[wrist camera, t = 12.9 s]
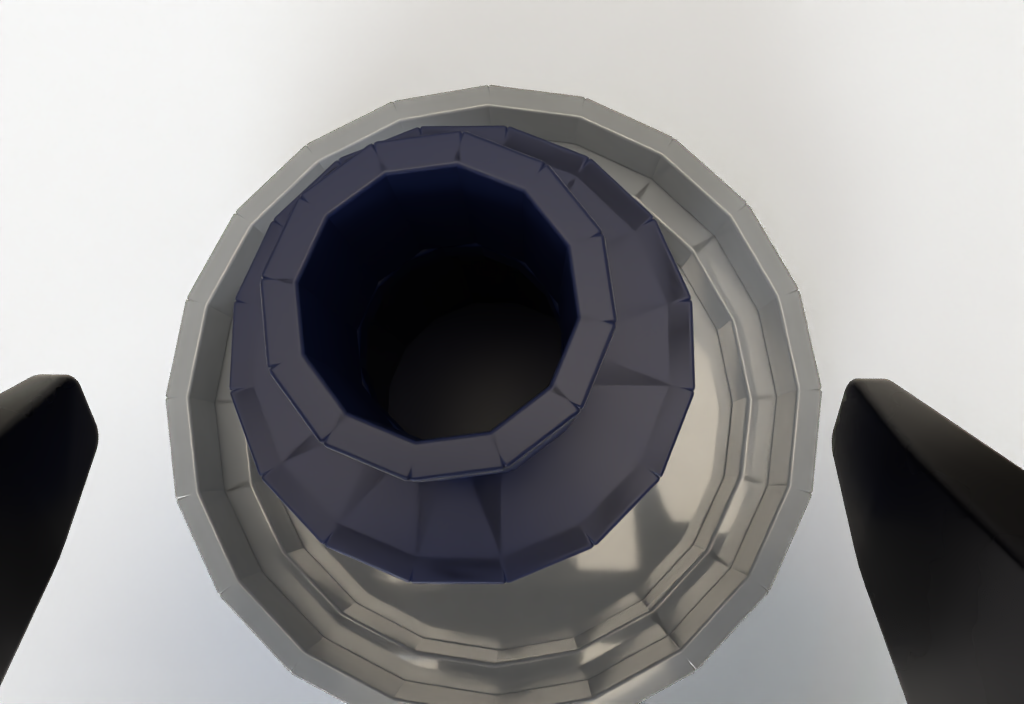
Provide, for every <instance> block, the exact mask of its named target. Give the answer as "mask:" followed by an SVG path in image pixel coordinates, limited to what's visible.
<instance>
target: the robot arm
mask: <svg viewBox="0 0 1024 704" xmlns="http://www.w3.org/2000/svg"><path fill="white" fill-rule="evenodd" d="M97 446H98V429H97V425H96V423H95V420H94V418H93V415H92V413H91V411H90V408H89V406H88V403H87V401H86V398H85V396H84V394H83V391H82V389H81V386H80V384H79V383H78V381H77V380H76V379H75V378H74V377H72V376H70V375H51V374H42V375H35V376H32V377H30V378H28V379H26V380H25V381H23V382H21V383H19V384H17V385H15V386H14V387H12V388H10V389H8V390H6V391H4V392H3V393H1V394H0V685H1V683H2V681H3V679H4V677H5V675H6V672H7V670H8V668H9V666H10V664H11V662H12V660H13V657H14V655H15V653H16V651H17V649H18V647H19V645H20V643H21V640H22V638H23V636H24V634H25V632H26V630H27V628H28V625H29V623H30V621H31V619H32V617H33V615H34V613H35V610H36V608H37V606H38V604H39V602H40V600H41V598H42V595H43V593H44V591H45V589H46V587H47V585H48V583H49V580H50V578H51V576H52V574H53V571H54V569H55V567H56V565H57V562H58V560H59V558H60V555H61V552H62V550H63V547H64V544H65V542H66V539H67V536H68V533H69V530H70V527H71V524H72V521H73V518H74V515H75V512H76V509H77V506H78V503H79V500H80V497H81V494H82V491H83V488H84V485H85V482H86V479H87V476H88V473H89V470H90V467H91V465H92V462H93V459H94V456H95V453H96V450H97ZM832 452H833V457H834V461H835V465H836V470H837V474H838V479H839V483H840V487H841V492H842V496H843V501H844V505H845V510H846V514H847V518H848V523H849V527H850V532H851V536H852V540H853V545H854V549H855V553H856V557H857V561H858V565H859V568H860V571H861V574H862V577H863V580H864V584H865V587H866V589H867V592H868V595H869V598H870V600H871V603H872V606H873V609H874V612H875V614H876V617H877V620H878V623H879V626H880V628H881V631H882V634H883V637H884V640H885V642H886V645H887V648H888V651H889V654H890V656H891V659H892V662H893V665H894V667H895V670H896V673H897V676H898V679H899V681H900V684H901V687H902V690H903V693H904V695H905V698H906V701H907V704H1024V470H1023V469H1021V468H1020V467H1018V466H1017V465H1015V464H1014V463H1012V462H1011V461H1009V460H1008V459H1007V458H1005V457H1004V456H1002V455H1001V454H999V453H998V452H996V451H995V450H993V449H992V448H990V447H989V446H987V445H986V444H984V443H983V442H981V441H980V440H978V439H977V438H975V437H974V436H972V435H971V434H969V433H968V432H966V431H965V430H963V429H962V428H961V427H959V426H958V425H956V424H955V423H953V422H952V421H950V420H949V419H947V418H946V417H944V416H943V415H941V414H940V413H938V412H937V411H935V410H934V409H932V408H931V407H929V406H928V405H926V404H925V403H923V402H922V401H920V400H919V399H917V398H916V397H915V396H913V395H912V394H910V393H909V392H907V391H906V390H904V389H903V388H901V387H900V386H898V385H897V384H895V383H894V382H892V381H890V380H888V379H854V380H852V381H850V382H849V384H848V385H847V387H846V389H845V392H844V396H843V399H842V402H841V406H840V409H839V413H838V416H837V419H836V423H835V426H834V429H833V434H832Z"/></svg>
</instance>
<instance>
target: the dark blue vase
mask: <svg viewBox="0 0 1024 704" xmlns="http://www.w3.org/2000/svg"><path fill="white" fill-rule="evenodd" d="M653 218H654V217H653V215H652V214H651V213H650V212H648V211H647V210H646V209H645V208H644V207H643V206H642V205H641V204H640V203H639V202H638V201H637V200H636V199H635V198H633V197H632V196H631V195H630V194H629V193H628V192H627V191H626V190H625V189H624V188H623V187H622V186H621V185H620V184H618V183H617V182H616V181H615V180H614V179H613V178H612V177H611V176H610V175H609V174H608V173H607V172H606V171H604V170H603V169H602V168H601V167H600V166H599V165H598V164H597V163H596V162H595V161H594V160H593V159H591V158H590V159H589V157H588V156H586V155H583V154H581V153H578V152H575V151H573V150H570V149H568V148H565V147H562V146H560V145H557V144H555V143H552V142H549V141H547V140H544V139H542V138H539V137H536V136H534V135H531V134H529V133H526V132H523V131H521V130H518V129H516V128H513V127H508V128H507V126H504V125H501V126H422V127H421V128H419V127H416V128H414V129H411V130H409V131H406V132H403V133H401V134H398V135H396V136H393V137H391V138H388V139H386V140H382V141H376V142H374V144H372V143H371V144H369V145H367V146H366V147H364V148H363V149H361V150H358V151H356V152H353V153H351V154H348V155H346V156H343V157H341V158H339V161H337V160H336V161H335V162H333V163H332V164H331V165H330V166H329V167H328V168H327V169H326V170H325V171H324V172H323V173H322V174H321V175H320V176H318V177H317V178H316V179H315V180H314V181H313V182H312V183H311V184H310V185H309V186H308V187H307V188H306V189H305V190H303V191H302V192H301V193H300V194H299V195H298V196H297V197H296V198H295V199H294V200H293V201H292V202H291V203H290V204H288V205H287V206H286V207H285V208H284V209H283V210H282V211H281V212H280V213H279V214H278V215H277V216H276V217H275V218H274V221H272V222H271V223H270V225H269V228H268V230H267V232H266V234H265V236H264V238H263V240H262V242H261V245H260V247H259V249H258V251H257V253H256V255H255V257H254V259H253V261H252V264H251V266H250V268H249V270H248V272H247V274H246V276H245V278H244V280H243V283H242V285H241V287H240V289H239V291H238V293H237V295H236V297H235V301H236V302H234V308H233V327H232V345H231V363H230V382H229V389H230V390H231V392H230V396H231V398H232V401H233V404H234V407H235V410H236V412H237V415H238V418H239V421H240V424H241V426H242V429H243V432H244V435H245V438H246V440H247V443H248V446H249V449H250V451H251V454H252V457H253V460H254V463H255V465H256V468H257V471H258V474H259V475H260V476H262V480H263V482H264V483H265V484H266V485H267V486H268V487H269V488H270V489H271V490H272V491H273V492H274V493H275V494H276V495H277V497H278V498H279V499H280V500H281V501H282V502H283V503H284V504H285V505H286V506H287V507H288V508H289V509H290V511H291V512H292V513H293V514H294V515H295V516H296V517H297V518H298V519H299V520H300V521H301V522H302V523H303V525H304V526H305V527H306V528H307V529H308V530H309V531H310V532H311V533H312V534H313V535H314V536H315V537H316V538H317V540H318V541H319V542H320V543H322V544H325V546H326V547H327V548H329V549H332V550H334V551H336V552H338V553H341V554H343V555H345V556H348V557H350V558H352V559H354V560H357V561H359V562H361V563H363V564H366V565H368V566H370V567H373V568H375V569H377V570H379V571H382V572H384V573H386V574H389V575H391V576H393V577H395V578H398V579H400V580H402V581H405V582H407V583H410V582H411V583H413V584H499V585H503V584H505V583H506V582H507V583H511V582H514V581H516V580H519V579H521V578H523V577H526V576H528V575H530V574H533V573H535V572H538V571H540V570H542V569H545V568H547V567H549V566H552V565H554V564H557V563H559V562H561V561H564V560H566V559H568V558H571V557H573V556H576V555H578V554H580V553H583V552H585V551H587V550H590V549H592V548H593V547H594V545H598V544H599V543H600V542H601V541H602V540H603V539H604V538H605V537H606V536H607V535H608V533H609V532H610V531H611V530H612V529H613V528H614V527H615V526H616V525H617V524H618V523H619V522H620V521H621V520H622V519H623V518H624V517H625V516H626V515H627V514H628V513H629V512H630V511H631V510H632V509H633V508H634V507H635V506H636V505H637V504H638V503H639V501H640V500H641V499H642V498H643V497H644V496H645V495H646V494H647V493H648V492H649V491H650V490H651V489H652V488H653V487H654V486H655V485H656V484H657V483H658V482H659V480H660V477H662V476H663V474H664V471H665V469H666V466H667V464H668V461H669V458H670V456H671V453H672V451H673V448H674V445H675V443H676V440H677V438H678V435H679V433H680V430H681V427H682V425H683V422H684V420H685V417H686V414H687V412H688V409H689V407H690V404H691V401H692V399H693V396H694V390H695V360H694V329H693V303H692V301H691V295H690V293H689V291H688V288H687V286H686V284H685V282H684V280H683V277H682V275H681V273H680V271H679V269H678V266H677V264H676V262H675V260H674V258H673V256H672V253H671V251H670V249H669V247H668V245H667V242H666V240H665V238H664V236H663V234H662V232H661V229H660V227H659V225H658V223H657V221H656V220H655V219H653Z"/></svg>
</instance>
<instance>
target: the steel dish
mask: <svg viewBox="0 0 1024 704" xmlns="http://www.w3.org/2000/svg"><path fill="white" fill-rule="evenodd" d="M501 125H504V126H507V128H508V127H513V128H516V129H518V130H521V131H523V132H526V133H529V134H531V135H534V136H536V137H539V138H542V139H544V140H547V141H549V142H552V143H555V144H557V145H560V146H562V147H565V148H568V149H570V150H573V151H575V152H578V153H581V154H583V155H586V156H588V157H589V159H590V158H591V159H593V160H594V161H595V162H596V163H597V164H598V165H599V166H600V167H601V168H602V169H603V170H604V171H606V172H607V173H608V174H609V175H610V176H611V177H612V178H613V179H614V180H615V181H616V182H617V183H618V184H620V185H621V186H622V187H623V188H624V189H625V190H626V191H627V192H628V193H629V194H630V195H631V196H632V197H633V198H635V199H636V200H637V201H638V202H639V203H640V204H641V205H642V206H643V207H644V208H645V209H646V210H647V211H648V212H650V213H651V214H652V215H653V217H654V218H653V219H655V220H656V221H657V223H658V225H659V227H660V229H661V232H662V234H663V236H664V238H665V240H666V242H667V245H668V247H669V249H670V251H671V253H672V256H673V258H674V260H675V262H676V264H677V266H678V269H679V271H680V273H681V275H682V277H683V280H684V282H685V284H686V286H687V288H688V291H689V293H690V295H691V301H692V303H693V329H694V360H695V390H694V396H693V399H692V401H691V404H690V407H689V409H688V412H687V414H686V417H685V420H684V422H683V425H682V427H681V430H680V433H679V435H678V438H677V440H676V443H675V445H674V448H673V451H672V453H671V456H670V458H669V461H668V464H667V466H666V469H665V471H664V474H663V476H662V477H660V480H659V482H658V483H657V484H656V485H655V486H654V487H653V488H652V489H651V490H650V491H649V492H648V493H647V494H646V495H645V496H644V497H643V498H642V499H641V500H640V501H639V503H638V504H637V505H636V506H635V507H634V508H633V509H632V510H631V511H630V512H629V513H628V514H627V515H626V516H625V517H624V518H623V519H622V520H621V521H620V522H619V523H618V524H617V525H616V526H615V527H614V528H613V529H612V530H611V531H610V532H609V533H608V535H607V536H606V537H605V538H604V539H603V540H602V541H601V542H600V543H599V544H598V545H594V547H593V548H592V549H590V550H587V551H585V552H583V553H580V554H578V555H576V556H573V557H571V558H568V559H566V560H564V561H561V562H559V563H557V564H554V565H552V566H549V567H547V568H545V569H542V570H540V571H538V572H535V573H533V574H530V575H528V576H526V577H523V578H521V579H519V580H516V581H514V582H511V583H507V582H506V583H505V584H503V585H499V584H413V583H411V582H410V583H407V582H405V581H402V580H400V579H398V578H395V577H393V576H391V575H389V574H386V573H384V572H382V571H379V570H377V569H375V568H373V567H370V566H368V565H366V564H363V563H361V562H359V561H357V560H354V559H352V558H350V557H348V556H345V555H343V554H341V553H338V552H336V551H334V550H332V549H329V548H327V547H326V546H325V544H322V543H320V542H319V541H318V540H317V538H316V537H315V536H314V535H313V534H312V533H311V532H310V531H309V530H308V529H307V528H306V527H305V526H304V525H303V523H302V522H301V521H300V520H299V519H298V518H297V517H296V516H295V515H294V514H293V513H292V512H291V511H290V509H289V508H288V507H287V506H286V505H285V504H284V503H283V502H282V501H281V500H280V499H279V498H278V497H277V495H276V494H275V493H274V492H273V491H272V490H271V489H270V488H269V487H268V486H267V485H266V484H265V483H264V482H263V480H262V476H260V475H259V474H258V471H257V468H256V465H255V463H254V460H253V457H252V454H251V451H250V449H249V446H248V443H247V440H246V438H245V435H244V432H243V429H242V426H241V424H240V421H239V418H238V415H237V412H236V410H235V407H234V404H233V401H232V398H231V396H230V392H231V390H230V389H229V382H230V363H231V345H232V327H233V308H234V302H236V301H235V297H236V295H237V293H238V291H239V289H240V287H241V285H242V283H243V280H244V278H245V276H246V274H247V272H248V270H249V268H250V266H251V264H252V261H253V259H254V257H255V255H256V253H257V251H258V249H259V247H260V245H261V242H262V240H263V238H264V236H265V234H266V232H267V230H268V228H269V225H270V223H271V222H272V221H274V218H275V217H276V216H277V215H278V214H279V213H280V212H281V211H282V210H283V209H284V208H285V207H286V206H287V205H288V204H290V203H291V202H292V201H293V200H294V199H295V198H296V197H297V196H298V195H299V194H300V193H301V192H302V191H303V190H305V189H306V188H307V187H308V186H309V185H310V184H311V183H312V182H313V181H314V180H315V179H316V178H317V177H318V176H320V175H321V174H322V173H323V172H324V171H325V170H326V169H327V168H328V167H329V166H330V165H331V164H332V163H333V162H335V161H336V160H337V161H339V158H341V157H343V156H346V155H348V154H351V153H353V152H356V151H358V150H361V149H363V148H364V147H366V146H367V145H369V144H371V143H372V144H374V142H376V141H382V140H386V139H388V138H391V137H393V136H396V135H398V134H401V133H403V132H406V131H409V130H411V129H414V128H416V127H419V128H421V127H422V126H501ZM746 204H747V203H746V201H745V200H743V199H742V198H741V197H740V196H739V195H738V194H737V193H736V192H734V191H733V190H732V189H731V188H730V187H729V186H728V185H727V184H726V183H724V182H723V181H722V180H721V179H720V178H719V177H718V176H717V175H715V174H714V173H713V172H712V171H711V170H710V169H709V168H708V167H706V166H705V165H704V164H703V163H702V162H701V161H700V160H699V159H697V158H696V157H695V156H694V155H693V154H692V153H691V152H690V151H688V150H687V149H686V148H685V147H684V146H683V145H682V144H681V143H680V142H678V141H677V140H676V139H673V137H671V136H669V135H667V134H665V133H663V132H661V131H658V130H656V129H654V128H652V127H650V126H647V125H645V124H643V123H641V122H638V121H636V120H634V119H632V118H630V117H627V116H625V115H623V114H621V113H619V112H616V111H614V110H612V109H610V108H608V107H605V106H603V105H601V104H599V103H597V102H594V101H592V100H590V99H588V98H586V99H585V98H584V97H581V96H573V95H565V94H557V93H549V92H542V91H534V90H526V89H518V88H510V87H503V86H495V85H490V86H487V85H486V86H480V87H474V88H468V89H462V90H456V91H450V92H444V93H438V94H432V95H427V96H421V97H415V98H409V99H403V100H397V101H395V102H390V103H388V104H386V105H384V106H382V107H380V108H378V109H376V110H374V111H372V112H370V113H368V114H366V115H364V116H362V117H360V118H358V119H356V120H354V121H352V122H350V123H348V124H346V125H344V126H342V127H340V128H338V129H336V130H334V131H332V132H330V133H328V134H326V135H324V136H322V137H320V138H318V139H316V140H314V141H312V142H310V143H308V144H307V146H304V147H303V148H302V149H301V150H300V151H299V152H298V153H297V154H296V155H295V156H293V157H292V158H291V159H290V160H289V161H288V162H287V163H286V164H285V165H284V166H283V167H282V168H281V169H280V170H279V171H278V172H277V173H276V174H274V175H273V176H272V177H271V178H270V179H269V180H268V181H267V182H266V183H265V184H264V185H263V186H262V187H261V188H260V189H259V190H258V191H257V192H256V193H254V194H253V195H252V196H251V197H250V198H249V199H248V200H247V201H246V202H245V203H244V204H243V205H242V206H241V207H240V208H239V209H238V210H237V211H236V214H234V215H233V217H232V218H231V220H230V222H229V224H228V225H227V227H226V229H225V231H224V233H223V234H222V236H221V238H220V240H219V241H218V243H217V245H216V247H215V249H214V250H213V252H212V254H211V256H210V257H209V259H208V261H207V263H206V265H205V266H204V268H203V270H202V272H201V273H200V275H199V277H198V279H197V281H196V282H195V284H194V286H193V288H192V289H191V291H190V293H189V295H188V297H187V299H188V300H186V302H185V307H184V312H183V316H182V321H181V326H180V331H179V335H178V340H177V345H176V350H175V354H174V359H173V364H172V369H171V373H170V378H169V383H168V388H167V392H166V397H167V398H166V408H167V418H168V428H169V437H170V447H171V457H172V466H173V476H174V486H175V495H176V498H177V499H178V500H177V503H178V505H179V508H180V510H181V512H182V514H183V517H184V519H185V521H186V523H187V526H188V528H189V530H190V532H191V534H192V537H193V539H194V541H195V543H196V546H197V548H198V550H199V552H200V555H201V557H202V559H203V561H204V563H205V566H206V568H207V570H208V572H209V575H210V577H211V579H212V581H213V584H214V586H215V588H216V590H217V592H218V593H219V594H220V597H221V598H222V599H223V600H224V601H225V603H226V604H227V605H228V606H229V607H230V608H231V609H232V610H233V611H234V612H235V613H236V614H237V616H238V617H239V618H240V619H241V620H242V621H243V622H244V623H245V624H246V625H247V626H248V627H249V629H250V630H251V631H252V632H253V633H254V634H255V635H256V636H257V637H258V638H259V639H260V640H261V642H262V643H263V644H264V645H265V646H266V647H267V648H268V649H269V650H270V651H271V652H272V653H273V655H274V656H275V657H276V658H277V659H278V660H279V661H280V662H281V663H282V664H283V665H284V666H285V668H286V669H287V670H288V671H290V672H291V671H292V674H293V675H295V676H296V677H298V678H300V679H302V680H304V681H306V682H307V683H309V684H311V685H313V686H315V687H317V688H319V689H320V690H322V691H324V692H326V693H328V694H330V695H331V696H333V697H335V698H337V699H339V700H341V701H343V702H344V703H346V704H638V703H640V702H641V701H643V700H645V699H647V698H649V697H650V696H652V695H654V694H656V693H658V692H660V691H661V690H663V689H665V688H667V687H669V686H671V685H672V684H674V683H676V682H678V681H680V680H682V679H683V678H685V677H687V676H689V675H691V674H692V673H694V672H695V670H698V669H699V668H700V667H701V666H702V665H703V664H704V663H705V662H706V660H707V659H708V658H709V657H710V656H711V655H712V654H713V653H714V652H715V651H716V650H717V648H718V647H719V646H720V645H721V644H722V643H723V642H724V641H725V640H726V639H727V637H728V636H729V635H730V634H731V633H732V632H733V631H734V630H735V629H736V628H737V627H738V625H739V624H740V623H741V622H742V621H743V620H744V619H745V618H746V617H747V616H748V614H749V613H750V612H751V611H752V610H753V609H754V608H755V607H756V606H757V605H758V604H759V602H760V601H761V600H762V599H763V598H764V597H765V596H766V595H767V594H768V590H770V589H771V587H772V585H773V582H774V580H775V578H776V576H777V573H778V571H779V569H780V566H781V564H782V562H783V560H784V557H785V555H786V553H787V551H788V548H789V546H790V544H791V541H792V539H793V537H794V535H795V532H796V530H797V528H798V526H799V523H800V521H801V519H802V516H803V514H804V512H805V510H806V507H807V505H808V503H809V501H810V498H811V494H810V493H812V491H813V481H814V470H815V460H816V449H817V438H818V427H819V417H820V406H821V395H822V392H821V390H820V389H821V383H820V379H819V374H818V370H817V366H816V361H815V357H814V352H813V348H812V344H811V339H810V335H809V330H808V326H807V322H806V317H805V313H804V309H803V304H802V300H801V295H800V292H799V291H797V290H798V287H797V285H796V284H795V282H794V280H793V279H792V277H791V275H790V274H789V272H788V270H787V268H786V267H785V265H784V263H783V262H782V260H781V258H780V257H779V255H778V253H777V252H776V250H775V248H774V247H773V245H772V243H771V242H770V240H769V238H768V236H767V235H766V233H765V231H764V230H763V228H762V226H761V225H760V223H759V221H758V220H757V218H756V216H755V215H754V213H753V211H752V210H751V208H750V206H749V205H746Z"/></svg>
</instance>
